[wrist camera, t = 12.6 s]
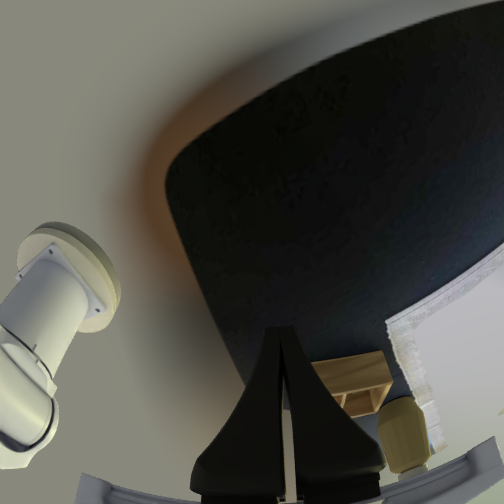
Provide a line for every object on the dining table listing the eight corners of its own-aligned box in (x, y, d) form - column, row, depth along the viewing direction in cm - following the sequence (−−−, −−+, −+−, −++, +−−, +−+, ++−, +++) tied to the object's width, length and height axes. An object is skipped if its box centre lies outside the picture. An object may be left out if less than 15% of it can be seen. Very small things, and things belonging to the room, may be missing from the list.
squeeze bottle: (375, 419, 39) (392, 506, 24) (369, 405, 35) (390, 508, 20) (417, 402, 37) (440, 488, 22) (417, 385, 33) (447, 485, 18)
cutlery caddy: (294, 364, 28) (298, 398, 24) (382, 349, 27) (393, 381, 24) (296, 397, 32) (298, 426, 29) (370, 385, 32) (377, 412, 28)
